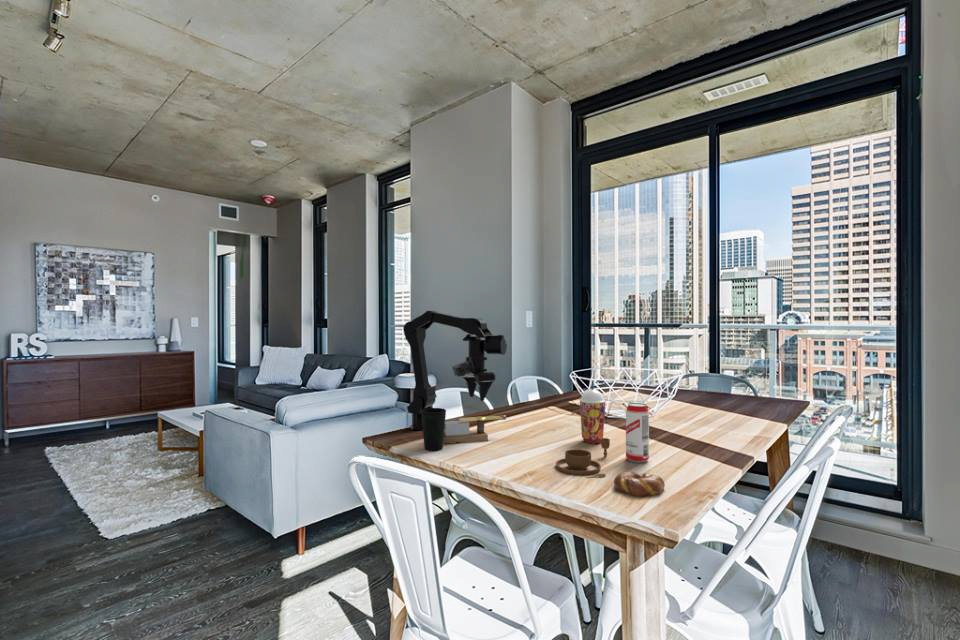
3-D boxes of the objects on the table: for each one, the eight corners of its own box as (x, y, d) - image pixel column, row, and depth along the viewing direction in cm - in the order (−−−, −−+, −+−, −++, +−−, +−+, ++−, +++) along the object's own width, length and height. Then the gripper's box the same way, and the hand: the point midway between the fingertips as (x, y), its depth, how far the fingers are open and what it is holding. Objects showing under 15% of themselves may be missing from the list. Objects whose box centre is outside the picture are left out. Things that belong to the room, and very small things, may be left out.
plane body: (433, 439, 160) (433, 420, 160) (481, 435, 164) (482, 418, 164) (437, 444, 153) (437, 425, 153) (487, 440, 157) (487, 422, 157)
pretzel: (654, 481, 119) (654, 467, 119) (673, 498, 108) (674, 482, 108) (607, 481, 119) (607, 467, 119) (621, 498, 108) (621, 482, 108)
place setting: (544, 462, 136) (544, 442, 136) (605, 457, 141) (605, 437, 141) (573, 483, 119) (573, 459, 119) (642, 475, 125) (642, 453, 125)
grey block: (442, 433, 159) (442, 421, 159) (466, 432, 161) (466, 420, 161) (445, 436, 155) (445, 424, 155) (469, 435, 157) (469, 423, 157)
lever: (458, 420, 160) (458, 416, 160) (504, 417, 165) (504, 414, 165) (461, 422, 157) (461, 419, 157) (507, 420, 161) (507, 416, 161)
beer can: (639, 464, 132) (639, 407, 132) (621, 459, 137) (621, 403, 137) (653, 461, 135) (653, 405, 135) (635, 455, 141) (635, 401, 141)
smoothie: (577, 438, 161) (577, 379, 161) (602, 438, 161) (602, 379, 161) (581, 444, 153) (582, 382, 153) (608, 445, 152) (608, 382, 152)
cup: (447, 445, 151) (448, 408, 151) (443, 452, 144) (443, 412, 144) (424, 445, 152) (424, 407, 152) (418, 451, 144) (418, 412, 144)
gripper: (445, 353, 171) (445, 396, 171) (465, 356, 154) (465, 404, 154) (474, 352, 176) (474, 394, 176) (496, 355, 159) (496, 402, 159)
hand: (476, 398), depth 166 cm, fingers open, 9 cm apart
